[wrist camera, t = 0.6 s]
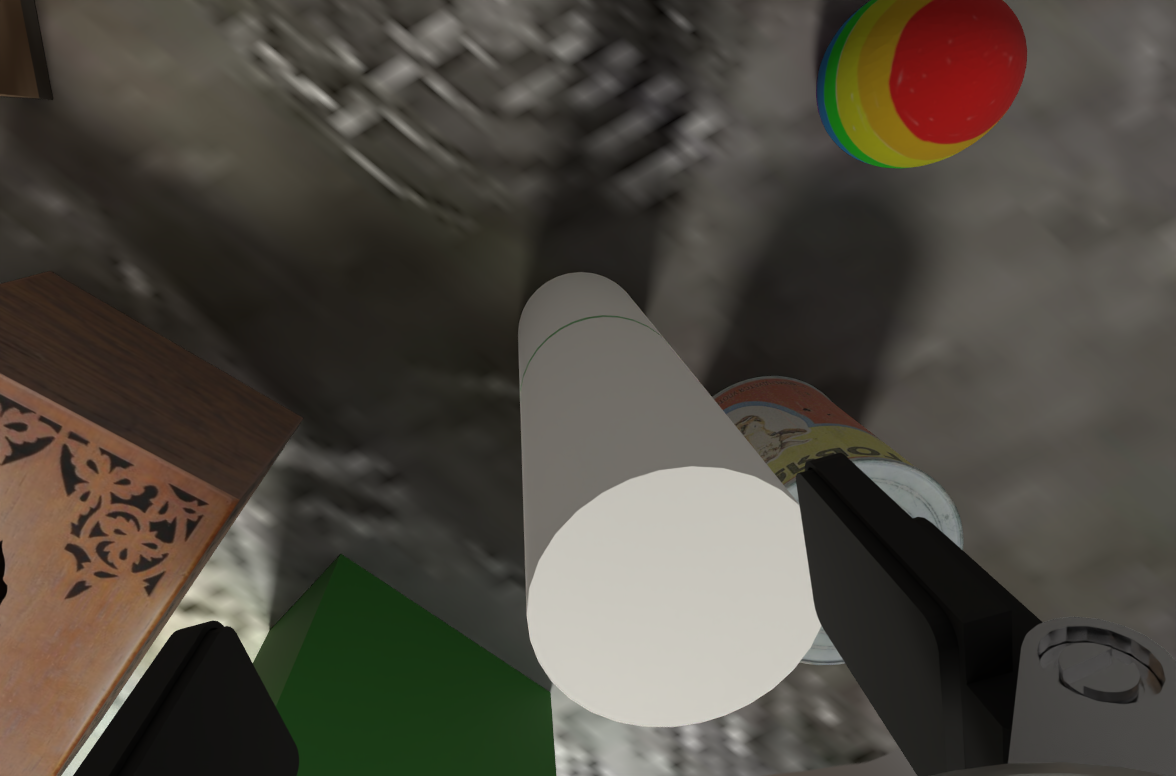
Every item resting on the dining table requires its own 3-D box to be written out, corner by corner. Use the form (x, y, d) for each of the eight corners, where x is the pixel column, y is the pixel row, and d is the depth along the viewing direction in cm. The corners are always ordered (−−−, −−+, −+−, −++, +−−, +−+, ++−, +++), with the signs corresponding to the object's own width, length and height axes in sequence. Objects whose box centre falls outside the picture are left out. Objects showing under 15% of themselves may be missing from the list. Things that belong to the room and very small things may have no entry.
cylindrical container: (545, 409, 40) (592, 765, 17) (498, 300, 38) (475, 540, 15) (657, 365, 40) (860, 663, 17) (616, 252, 38) (786, 417, 14)
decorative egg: (938, 156, 38) (1078, 157, 29) (797, 175, 38) (892, 183, 28) (946, -9, 35) (1104, -67, 26) (794, 10, 35) (898, -42, 25)
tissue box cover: (53, 270, 35) (-114, 313, 26) (304, 416, 39) (239, 499, 30) (-136, 618, 41) (-331, 759, 31) (103, 716, 45) (-6, 866, 35)
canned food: (779, 338, 41) (881, 409, 29) (879, 459, 44) (1005, 565, 33) (638, 459, 42) (684, 571, 31) (745, 567, 46) (821, 702, 34)
